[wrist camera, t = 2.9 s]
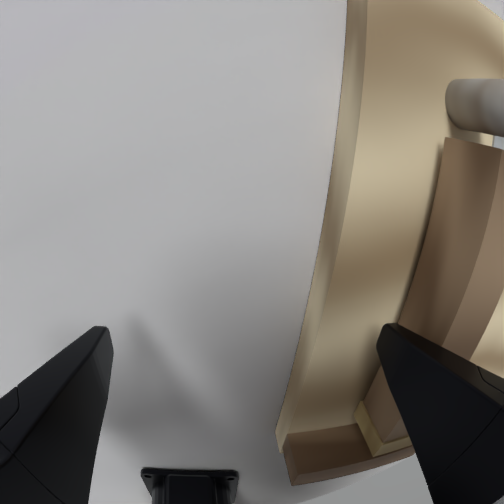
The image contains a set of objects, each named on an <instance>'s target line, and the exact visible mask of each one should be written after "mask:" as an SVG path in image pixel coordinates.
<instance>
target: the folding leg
mask: <svg viewBox="0 0 504 504" xmlns="http://www.w3.org/2000/svg"><path fill="white" fill-rule="evenodd" d="M503 289H504V150H503V149H500V148H496V147H491V146H487V145H483V144H479V143H474V142H469V141H464V140H459V139H454V138H449V137H445V140H444V147H443V154H442V161H441V167H440V173H439V179H438V184H437V189H436V194H435V199H434V204H433V208H432V213H431V217H430V221H429V226H428V230H427V234H426V237H425V241H424V245H423V249H422V252H421V256H420V259H419V263H418V266H417V269H416V273H415V276H414V279H413V282H412V285H411V288H410V291H409V294H408V297H407V300H406V303H405V306H404V308H403V311H402V314H401V317H400V319H399V322H398V324H399V325H401V326H403V327H405V328H407V329H409V330H411V331H413V332H415V333H417V334H418V335H420V336H422V337H424V338H426V339H428V340H430V341H432V342H434V343H436V344H438V345H440V346H442V347H443V348H445V349H447V350H449V351H451V352H453V353H455V354H457V355H459V356H461V357H463V358H465V359H466V360H468V361H469V360H470V359H471V357H472V355H473V353H474V351H475V349H476V348H477V346H478V344H479V342H480V340H481V338H482V336H483V334H484V332H485V330H486V328H487V326H488V324H489V322H490V319H491V317H492V315H493V313H494V311H495V308H496V306H497V304H498V301H499V299H500V297H501V294H502V292H503ZM354 416H355V418H356V421H357V423H358V425H359V427H360V429H361V432H362V434H363V436H364V438H365V440H366V443H367V445H368V447H369V449H370V452H371V454H372V456H373V457H375V456H378V455H382V454H385V453H388V452H392V451H395V450H398V449H401V448H404V447H407V446H410V445H412V442H411V440H410V437H409V435H408V432H407V430H406V427H405V425H404V422H403V420H402V418H401V415H400V413H399V410H398V408H397V406H396V403H395V401H394V399H393V396H392V394H391V392H390V389H389V387H388V384H387V381H386V378H385V375H384V372H383V368H382V365H381V366H380V368H379V370H378V372H377V374H376V377H375V379H374V381H373V383H372V385H371V387H370V389H369V391H368V393H367V395H366V397H365V399H364V401H360V403H359V405H358V407H357V409H356V410H355V412H354Z"/></svg>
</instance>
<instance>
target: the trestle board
mask: <svg viewBox="0 0 504 504" xmlns="http://www.w3.org/2000/svg"><path fill="white" fill-rule="evenodd" d="M445 137H449V138H454V139H459V140H464V141H469V142H474V143H479V144H483V145H487V146H491V147H496V148H500V149H503V150H504V21H503V20H502V19H501V18H500V17H498V16H497V15H496V14H495V13H493V12H492V11H491V10H490V9H488V8H487V7H486V6H484V5H483V4H482V3H480V2H479V1H478V0H347V23H346V40H345V54H344V66H343V78H342V88H341V98H340V108H339V117H338V125H337V133H336V141H335V149H334V156H333V163H332V170H331V177H330V184H329V190H328V197H327V203H326V209H325V215H324V221H323V226H322V232H321V238H320V243H319V249H318V254H317V259H316V264H315V269H314V274H313V279H312V284H311V289H310V294H309V298H308V303H307V308H306V312H305V317H304V321H303V326H302V330H301V334H300V339H299V343H298V347H297V351H296V355H295V359H294V363H293V367H292V371H291V375H290V379H289V383H288V387H287V390H286V394H285V398H284V402H283V405H282V409H281V412H280V416H279V419H278V423H277V426H276V430H275V435H276V439H277V443H278V448H279V452H280V453H284V457H285V461H286V465H287V469H288V473H289V477H290V481H291V485H292V486H295V485H301V484H307V483H313V482H318V481H324V480H329V479H333V478H338V477H342V476H346V475H350V474H354V473H358V472H362V471H366V470H369V469H373V468H376V467H380V466H383V465H386V464H389V463H392V462H395V461H398V460H401V459H404V458H407V457H410V456H412V455H413V454H414V453H415V450H414V448H413V445H410V446H407V447H404V448H401V449H398V450H395V451H392V452H388V453H385V454H382V455H378V456H375V457H373V456H372V454H371V452H370V449H369V447H368V445H367V443H366V440H365V438H364V436H363V434H362V432H361V429H360V427H359V425H358V423H357V421H356V418H355V416H354V412H355V410H356V409H357V407H358V405H359V403H360V401H364V399H365V397H366V395H367V393H368V391H369V389H370V387H371V385H372V383H373V381H374V379H375V377H376V374H377V372H378V370H379V368H380V366H381V362H380V359H379V356H378V353H377V350H376V343H377V340H378V337H379V334H380V332H381V329H382V327H383V325H384V324H386V323H397V324H398V322H399V319H400V317H401V314H402V311H403V308H404V306H405V303H406V300H407V297H408V294H409V291H410V288H411V285H412V282H413V279H414V276H415V273H416V269H417V266H418V263H419V259H420V256H421V252H422V249H423V245H424V241H425V237H426V234H427V230H428V226H429V221H430V217H431V213H432V208H433V204H434V199H435V194H436V189H437V184H438V179H439V173H440V167H441V161H442V154H443V147H444V140H445ZM469 361H470V362H472V363H474V364H476V366H477V365H478V366H480V367H482V368H484V369H486V370H488V371H490V372H492V373H494V374H496V375H498V376H500V377H502V378H504V289H503V292H502V294H501V297H500V299H499V301H498V304H497V306H496V308H495V311H494V313H493V315H492V317H491V319H490V322H489V324H488V326H487V328H486V330H485V332H484V334H483V336H482V338H481V340H480V342H479V344H478V346H477V348H476V349H475V351H474V353H473V355H472V357H471V359H470V360H469Z"/></svg>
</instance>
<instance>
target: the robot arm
mask: <svg viewBox="0 0 504 504" xmlns="http://www.w3.org/2000/svg"><path fill="white" fill-rule="evenodd" d="M376 350H377V353H378V356H379V359H380V362H381V365H382V368H383V372H384V375H385V378H386V381H387V384H388V387H389V389H390V392H391V394H392V396H393V399H394V401H395V403H396V406H397V408H398V410H399V413H400V415H401V418H402V420H403V422H404V425H405V427H406V430H407V432H408V435H409V437H410V440H411V442H412V445H413V448H414V450H415V453H416V455H417V458H418V461H419V463H420V466H421V469H422V471H423V474H424V477H425V479H426V483H427V485H428V489H429V492H430V495H431V497H432V500H433V503H434V504H504V378H502V377H500V376H498V375H496V374H494V373H492V372H490V371H488V370H486V369H484V368H482V367H480V366H478V365H477V366H476V364H474V363H472V362H470V361H468V360H466V359H465V358H463V357H461V356H459V355H457V354H455V353H453V352H451V351H449V350H447V349H445V348H443V347H442V346H440V345H438V344H436V343H434V342H432V341H430V340H428V339H426V338H424V337H422V336H420V335H418V334H417V333H415V332H413V331H411V330H409V329H407V328H405V327H403V326H401V325H399V324H397V323H386V324H384V325H383V327H382V329H381V332H380V334H379V337H378V340H377V343H376ZM113 354H114V352H113V345H112V341H111V337H110V332H109V329H108V328H107V327H104V326H94V327H92V328H91V329H90V330H88V331H87V332H86V333H84V334H83V335H82V336H80V337H79V338H78V339H76V340H75V341H74V342H72V343H71V344H70V345H68V346H67V347H66V348H64V349H63V350H62V351H61V352H59V353H58V354H57V355H55V356H54V357H53V358H51V359H50V360H49V361H48V362H46V363H45V364H44V365H42V366H41V367H40V368H39V369H37V370H36V371H35V372H33V373H32V374H31V375H30V376H28V377H27V378H26V379H25V380H23V381H22V382H21V383H19V384H18V385H17V387H14V388H13V389H12V390H11V391H9V392H8V393H7V394H6V395H4V396H3V397H2V398H0V504H88V501H89V493H90V486H91V480H92V474H93V468H94V462H95V456H96V451H97V446H98V441H99V436H100V431H101V426H102V422H103V417H104V413H105V409H106V404H107V399H108V392H109V384H110V376H111V369H112V362H113ZM141 477H142V479H143V481H144V483H145V485H146V487H147V489H148V491H149V493H150V495H151V497H152V504H232V503H234V501H235V496H236V490H237V485H238V473H237V472H233V471H228V472H188V471H167V470H154V469H142V470H141Z"/></svg>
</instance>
